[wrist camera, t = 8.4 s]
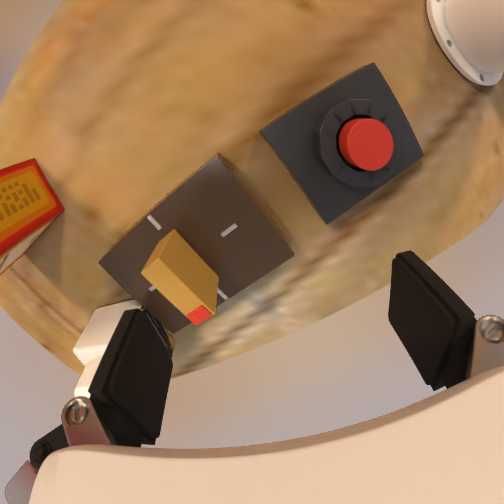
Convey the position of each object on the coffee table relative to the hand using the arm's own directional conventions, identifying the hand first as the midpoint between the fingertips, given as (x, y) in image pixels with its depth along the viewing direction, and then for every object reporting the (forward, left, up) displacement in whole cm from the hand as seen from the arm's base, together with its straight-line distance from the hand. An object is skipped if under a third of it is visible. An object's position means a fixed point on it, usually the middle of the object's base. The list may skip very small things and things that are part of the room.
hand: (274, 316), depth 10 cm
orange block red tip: (+7, 0, -12) cm, 14 cm away
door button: (-9, 0, -11) cm, 15 cm away
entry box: (-9, 0, -15) cm, 18 cm away
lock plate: (+7, 0, -15) cm, 16 cm away
